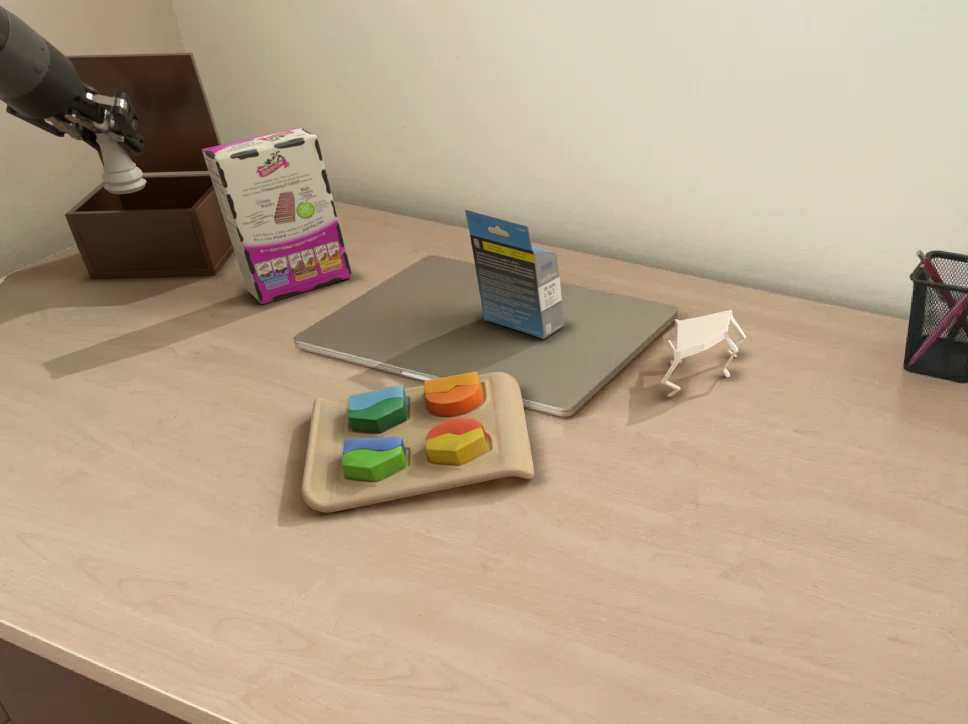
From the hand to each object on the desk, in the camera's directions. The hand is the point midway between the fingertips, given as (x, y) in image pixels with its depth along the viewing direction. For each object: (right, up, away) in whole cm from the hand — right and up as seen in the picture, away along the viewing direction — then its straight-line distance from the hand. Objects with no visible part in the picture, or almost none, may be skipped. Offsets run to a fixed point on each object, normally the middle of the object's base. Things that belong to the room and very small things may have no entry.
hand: (124, 147), depth 121 cm
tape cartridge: (+47, -22, -6) cm, 52 cm away
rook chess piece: (0, -5, +1) cm, 5 cm away
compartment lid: (0, +5, +4) cm, 7 cm away
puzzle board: (+41, -37, -25) cm, 61 cm away
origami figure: (+66, -29, -16) cm, 73 cm away
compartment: (+1, -10, +9) cm, 13 cm away
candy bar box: (+19, -15, +2) cm, 25 cm away
